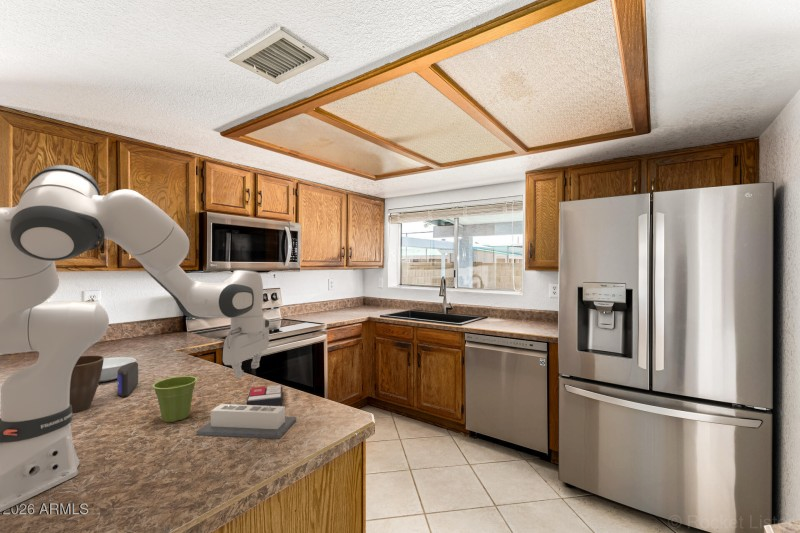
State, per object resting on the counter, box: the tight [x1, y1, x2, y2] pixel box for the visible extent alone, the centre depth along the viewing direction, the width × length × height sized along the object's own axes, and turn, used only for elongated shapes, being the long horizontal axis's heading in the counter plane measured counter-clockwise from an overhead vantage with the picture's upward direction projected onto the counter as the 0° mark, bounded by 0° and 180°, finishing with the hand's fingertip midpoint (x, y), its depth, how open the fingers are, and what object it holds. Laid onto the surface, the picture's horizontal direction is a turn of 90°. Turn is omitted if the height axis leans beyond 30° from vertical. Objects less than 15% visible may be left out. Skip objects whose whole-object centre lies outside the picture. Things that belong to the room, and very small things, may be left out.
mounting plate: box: [195, 405, 297, 440], centre depth 107 cm, size 12×24×6 cm, turn 84°
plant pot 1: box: [70, 354, 105, 414], centre depth 121 cm, size 15×15×16 cm
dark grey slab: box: [116, 361, 139, 398], centre depth 139 cm, size 16×5×9 cm, turn 24°
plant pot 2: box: [151, 375, 198, 423], centre depth 114 cm, size 12×12×11 cm
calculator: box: [245, 384, 283, 406], centre depth 127 cm, size 11×4×15 cm
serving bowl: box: [99, 356, 137, 383], centre depth 154 cm, size 21×21×7 cm
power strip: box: [210, 403, 286, 429], centre depth 107 cm, size 5×20×5 cm, turn 84°
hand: (247, 372), depth 108 cm, fingers open, 8 cm apart
